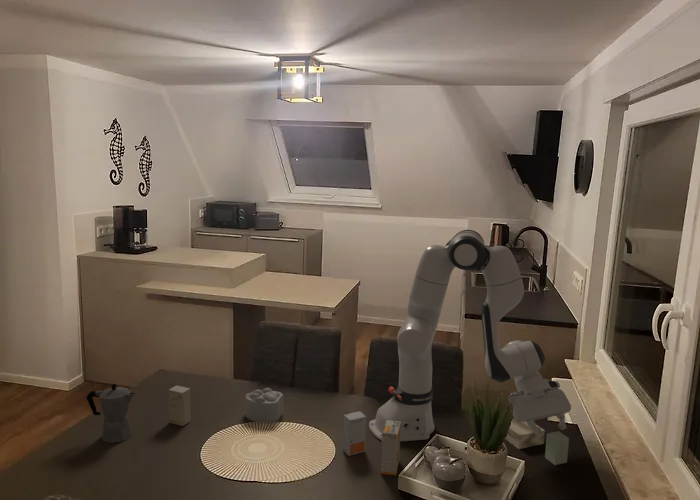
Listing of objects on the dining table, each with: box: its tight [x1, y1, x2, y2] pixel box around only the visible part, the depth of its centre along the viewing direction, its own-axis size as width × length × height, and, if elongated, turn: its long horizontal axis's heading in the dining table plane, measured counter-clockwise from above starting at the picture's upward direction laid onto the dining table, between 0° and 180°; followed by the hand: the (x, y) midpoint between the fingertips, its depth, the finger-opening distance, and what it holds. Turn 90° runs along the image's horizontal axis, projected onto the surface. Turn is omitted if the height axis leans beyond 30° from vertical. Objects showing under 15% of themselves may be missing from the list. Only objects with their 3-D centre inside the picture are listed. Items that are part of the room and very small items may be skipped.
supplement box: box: [380, 420, 401, 476], centre depth 158 cm, size 8×5×13 cm, turn 168°
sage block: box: [544, 430, 570, 466], centre depth 164 cm, size 4×4×8 cm
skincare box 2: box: [342, 410, 367, 457], centre depth 167 cm, size 6×4×12 cm
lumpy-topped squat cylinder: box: [244, 387, 284, 424], centre depth 190 cm, size 10×13×9 cm
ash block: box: [504, 418, 546, 450], centre depth 177 cm, size 10×10×5 cm
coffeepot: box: [86, 383, 136, 444], centre depth 173 cm, size 15×9×18 cm, turn 92°
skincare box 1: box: [168, 384, 192, 427], centre depth 184 cm, size 6×4×12 cm
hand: (551, 431), depth 167 cm, fingers open, 8 cm apart
